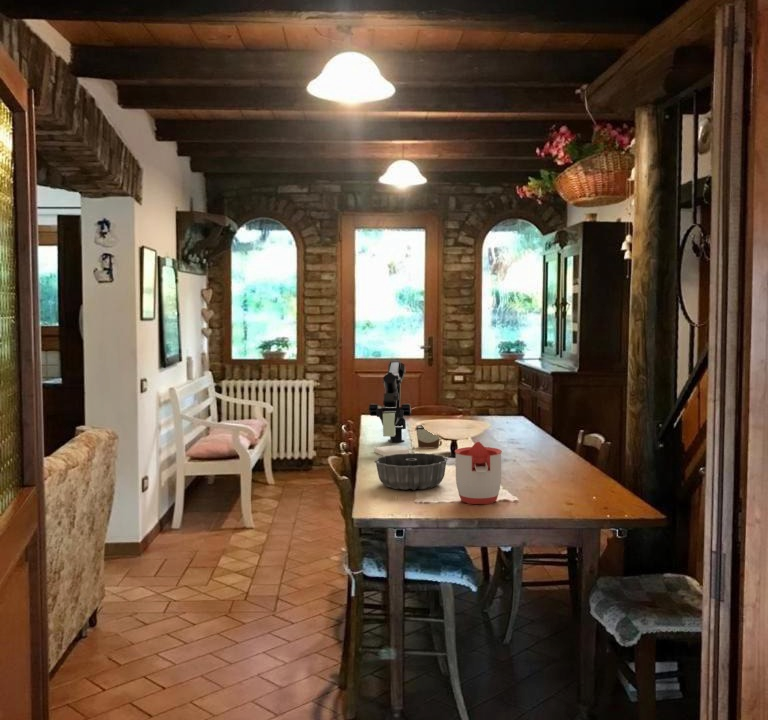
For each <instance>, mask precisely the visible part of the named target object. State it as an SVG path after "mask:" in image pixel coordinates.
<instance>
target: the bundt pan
mask: <svg viewBox="0 0 768 720" xmlns="http://www.w3.org/2000/svg"><path fill="white" fill-rule="evenodd" d="M447 461H448V457H445V455H440V454H435V453H426V452H425V453H424V452H423V453H422V452H421V453H420V452H419V453H417V452H415V453H413V452H412V453H411V452H409V453H406V454H393V455H388V456H379V457H377V458H376V459H375V460H374V463H375V464H376V470H377V475H378V479H379V481H380V482H381V483H382V484H383V485H384V486H386V487H388V488H391V489H394V490H403V491H407V490H412V491H416V490H417V489H418V490H425V489H432V488H434V487H436V486H438V485H440V484H441V482H442V481H443V479H444V478H445V474H446V466H447Z"/></svg>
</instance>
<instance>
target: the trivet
mask: <svg viewBox="0 0 768 720" xmlns="http://www.w3.org/2000/svg"><path fill="white" fill-rule="evenodd" d="M373 452H374V453H376V454H378V455H381V456H382V457H384V456H388V455H393V454H406V453H410V449H409V448H407V447H404V446H401V445H399V444H398V445H386V446H375V447H373Z"/></svg>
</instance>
